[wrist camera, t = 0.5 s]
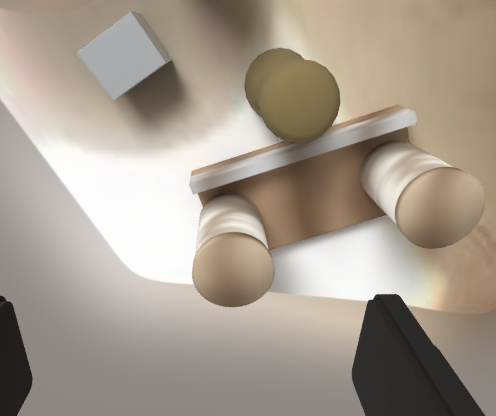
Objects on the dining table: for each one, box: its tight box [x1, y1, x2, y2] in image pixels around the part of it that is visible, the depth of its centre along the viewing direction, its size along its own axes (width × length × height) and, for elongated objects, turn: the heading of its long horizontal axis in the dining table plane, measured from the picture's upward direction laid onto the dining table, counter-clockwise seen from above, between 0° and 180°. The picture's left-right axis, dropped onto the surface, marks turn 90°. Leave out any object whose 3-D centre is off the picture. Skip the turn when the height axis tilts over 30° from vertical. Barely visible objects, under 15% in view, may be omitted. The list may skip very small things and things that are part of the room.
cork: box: [245, 48, 340, 142], centre depth 27 cm, size 6×6×11 cm
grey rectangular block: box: [76, 11, 172, 100], centre depth 29 cm, size 5×4×4 cm
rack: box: [189, 105, 485, 307], centre depth 32 cm, size 22×10×10 cm, turn 107°
